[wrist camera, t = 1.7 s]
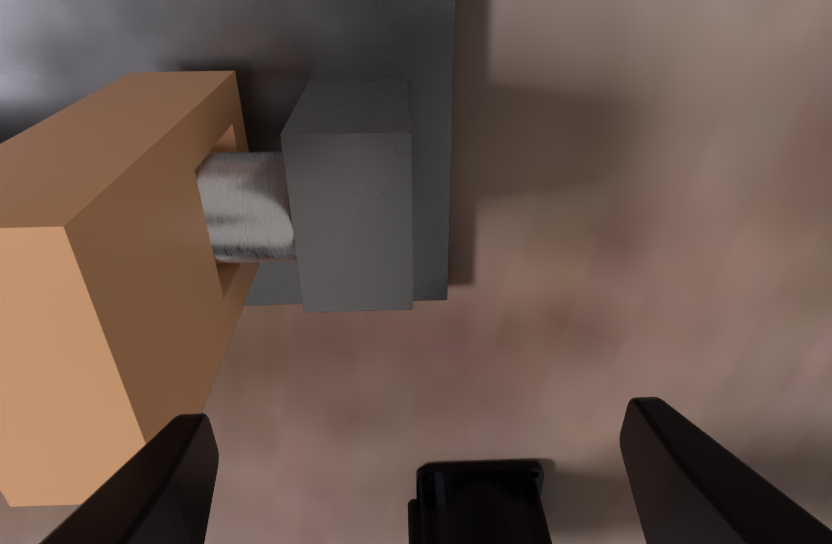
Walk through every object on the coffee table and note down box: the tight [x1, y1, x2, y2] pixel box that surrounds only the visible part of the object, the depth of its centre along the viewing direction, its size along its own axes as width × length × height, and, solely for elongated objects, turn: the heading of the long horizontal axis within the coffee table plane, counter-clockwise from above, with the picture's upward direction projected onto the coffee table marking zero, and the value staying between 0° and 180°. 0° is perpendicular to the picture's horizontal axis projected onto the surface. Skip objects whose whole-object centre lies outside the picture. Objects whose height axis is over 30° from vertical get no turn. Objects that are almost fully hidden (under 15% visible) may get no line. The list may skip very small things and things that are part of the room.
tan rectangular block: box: [0, 71, 261, 507], centre depth 14 cm, size 3×6×10 cm, turn 0°
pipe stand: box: [0, 0, 456, 313], centre depth 17 cm, size 26×12×6 cm, turn 90°
